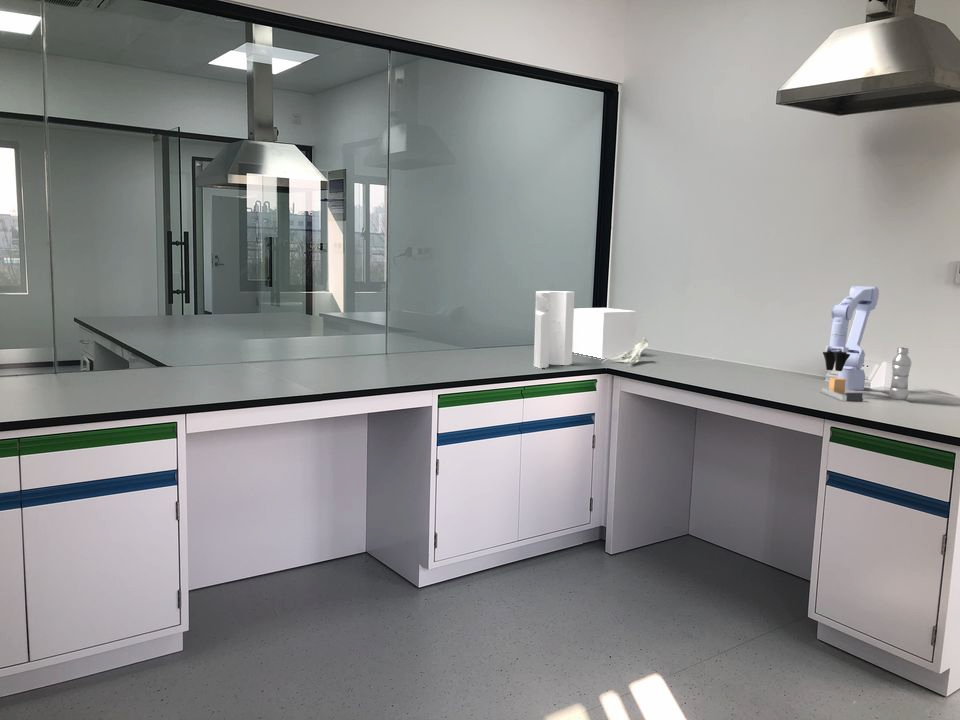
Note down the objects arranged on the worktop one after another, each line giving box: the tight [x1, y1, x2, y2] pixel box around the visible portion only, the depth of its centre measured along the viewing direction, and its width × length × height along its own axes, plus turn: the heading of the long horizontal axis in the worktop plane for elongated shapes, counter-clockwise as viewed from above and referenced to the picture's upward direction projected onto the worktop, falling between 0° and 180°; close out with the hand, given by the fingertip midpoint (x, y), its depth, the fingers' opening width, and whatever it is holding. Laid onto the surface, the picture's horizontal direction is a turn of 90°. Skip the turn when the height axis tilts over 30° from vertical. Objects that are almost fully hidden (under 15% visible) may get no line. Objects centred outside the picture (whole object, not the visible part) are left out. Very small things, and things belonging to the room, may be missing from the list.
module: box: [828, 377, 846, 394], centre depth 297 cm, size 4×4×6 cm
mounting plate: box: [819, 387, 867, 403], centre depth 291 cm, size 10×18×4 cm, turn 0°
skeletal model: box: [601, 337, 649, 368], centre depth 374 cm, size 16×9×25 cm
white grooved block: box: [533, 290, 575, 368], centre depth 359 cm, size 35×11×21 cm
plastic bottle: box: [888, 347, 912, 401], centre depth 289 cm, size 6×7×20 cm
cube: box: [572, 307, 637, 360], centre depth 401 cm, size 25×21×24 cm
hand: (833, 370), depth 296 cm, fingers open, 7 cm apart
